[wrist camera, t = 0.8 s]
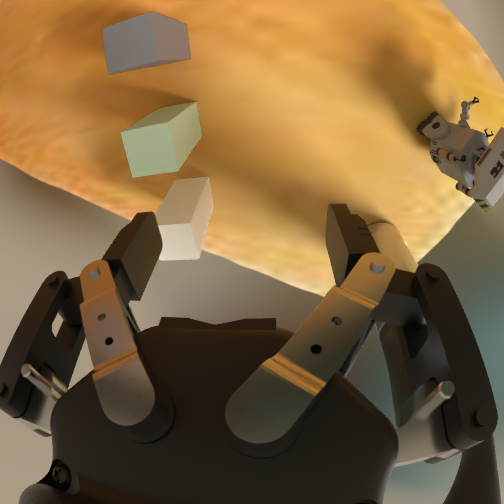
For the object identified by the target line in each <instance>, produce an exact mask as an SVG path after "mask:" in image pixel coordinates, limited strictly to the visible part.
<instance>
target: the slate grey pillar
mask: <svg viewBox="0 0 504 504" xmlns="http://www.w3.org/2000/svg"><path fill="white" fill-rule="evenodd" d="M102 33H103V41H104V49H105V56H106V62H107V68H108V74H109V75H111V74H116V73H120V72H125V71H131V70H136V69H142V68H149V67H155V66H159V65H163V64H167V63H172V62H177V61H182V60H187V59H191V56H190V48H189V40H188V31H187V24H185V23H182V22H179V21H177V20H174V19H172V18H169V17H166V16H164V15H161V14H158V13H155V12H148V13H145V14H142V15H139V16H136V17H133V18H130V19H127V20H124V21H121V22H119V23H116V24H113V25H111V26H108V27H106V28H103V29H102Z"/></svg>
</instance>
